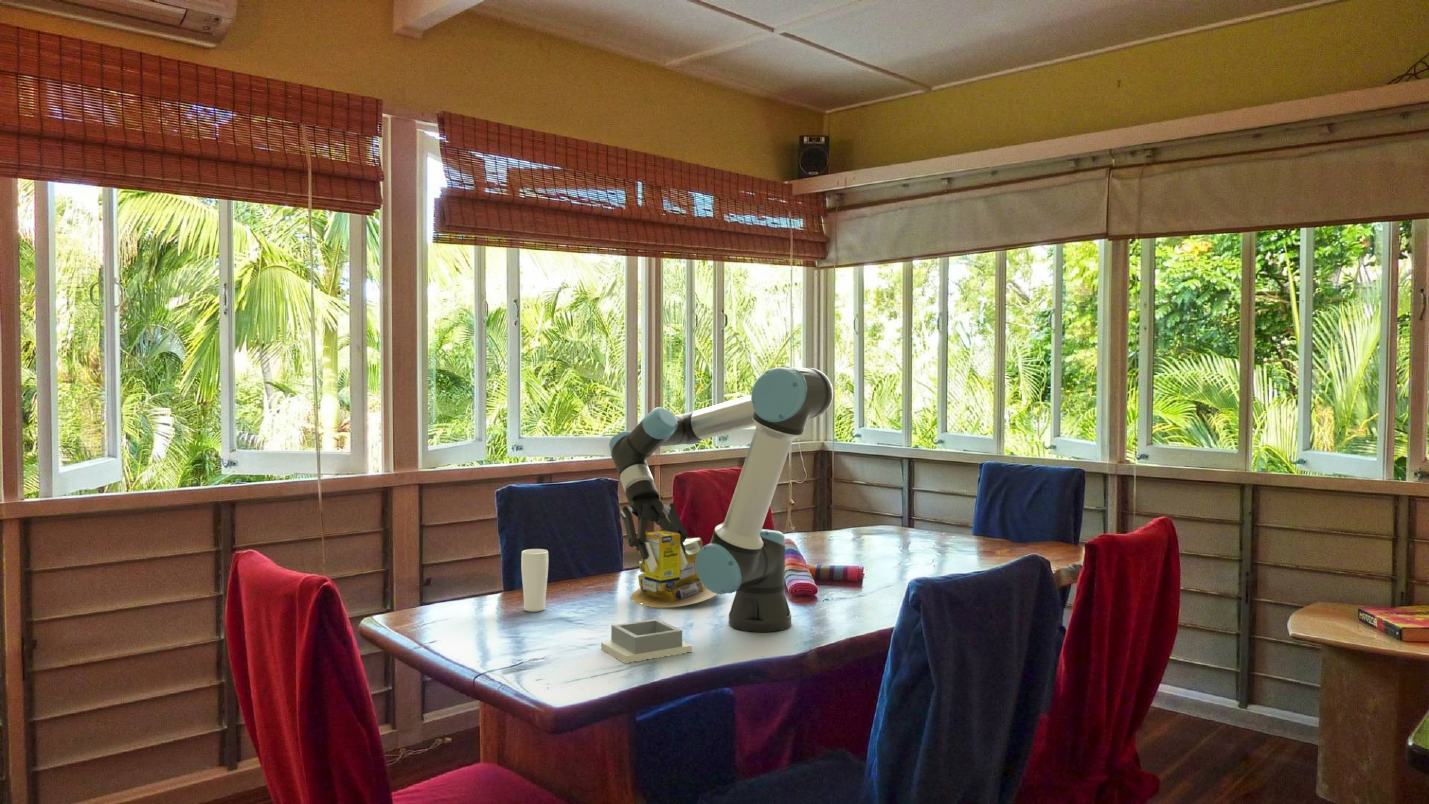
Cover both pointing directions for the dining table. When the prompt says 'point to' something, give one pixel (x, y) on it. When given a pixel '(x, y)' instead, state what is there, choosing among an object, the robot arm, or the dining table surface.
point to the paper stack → (674, 584)
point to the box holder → (645, 641)
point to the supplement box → (664, 556)
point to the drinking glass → (534, 578)
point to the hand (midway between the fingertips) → (669, 568)
